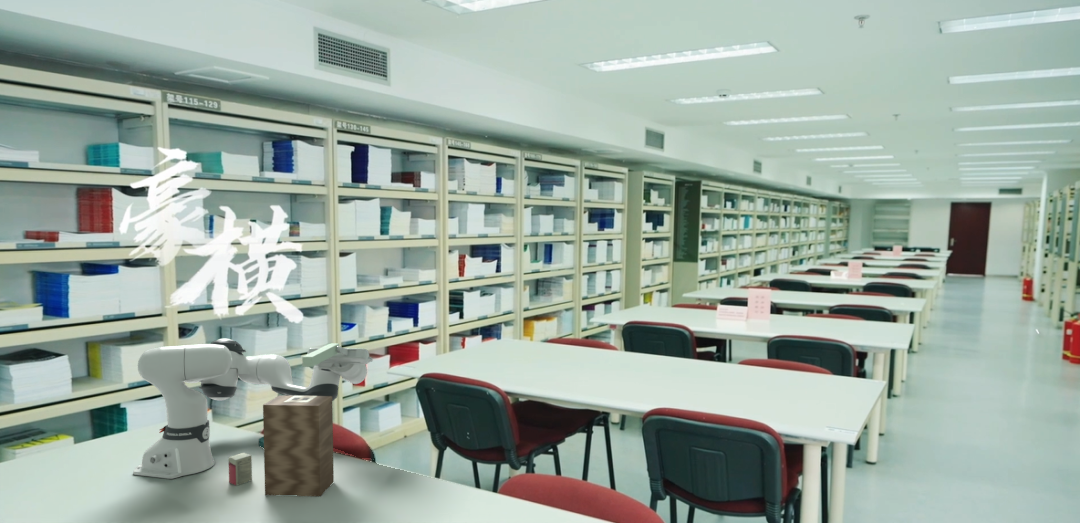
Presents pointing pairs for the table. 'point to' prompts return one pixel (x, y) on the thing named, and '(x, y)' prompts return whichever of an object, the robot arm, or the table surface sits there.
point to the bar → (319, 355)
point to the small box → (240, 468)
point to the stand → (298, 445)
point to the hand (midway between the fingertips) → (331, 348)
